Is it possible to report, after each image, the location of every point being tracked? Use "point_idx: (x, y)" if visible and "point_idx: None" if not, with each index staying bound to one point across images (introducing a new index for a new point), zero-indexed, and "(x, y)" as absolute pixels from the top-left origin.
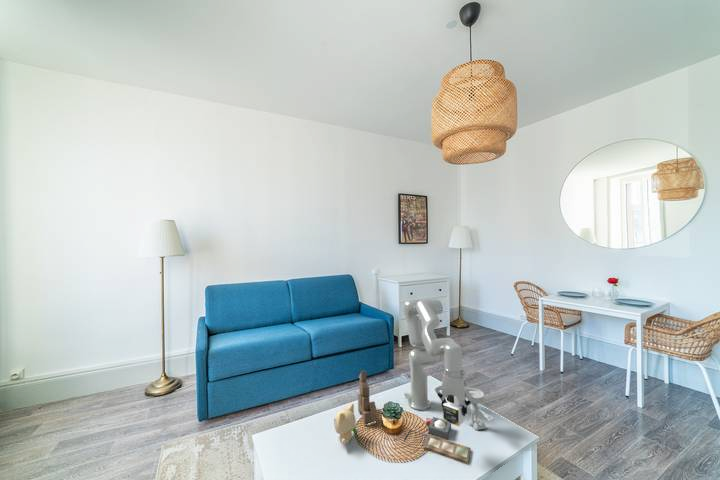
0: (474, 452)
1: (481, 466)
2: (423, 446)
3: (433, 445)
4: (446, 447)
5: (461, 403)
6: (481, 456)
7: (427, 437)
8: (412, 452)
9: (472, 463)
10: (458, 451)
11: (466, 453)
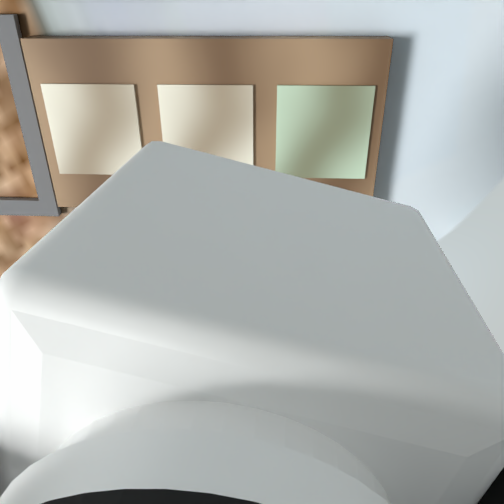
0: (422, 43)
1: (465, 177)
2: (39, 183)
3: (100, 167)
4: (197, 140)
5: (436, 481)
6: (479, 66)
7: (10, 63)
8: (8, 257)
9: (401, 177)
10: (296, 144)
11: (360, 136)
